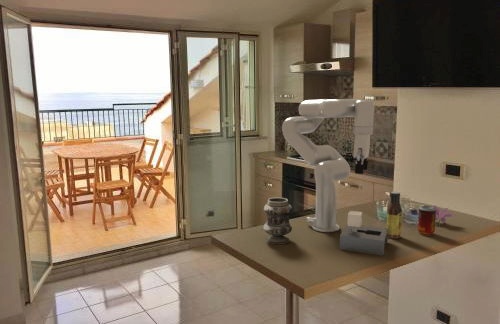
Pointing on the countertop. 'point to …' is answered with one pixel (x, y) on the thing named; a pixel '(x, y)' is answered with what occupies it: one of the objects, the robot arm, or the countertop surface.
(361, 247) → the slotted grey box
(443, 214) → the lily
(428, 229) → the soda can
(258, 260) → the countertop surface
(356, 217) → the peg
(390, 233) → the sauce bottle
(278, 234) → the apothecary jar
